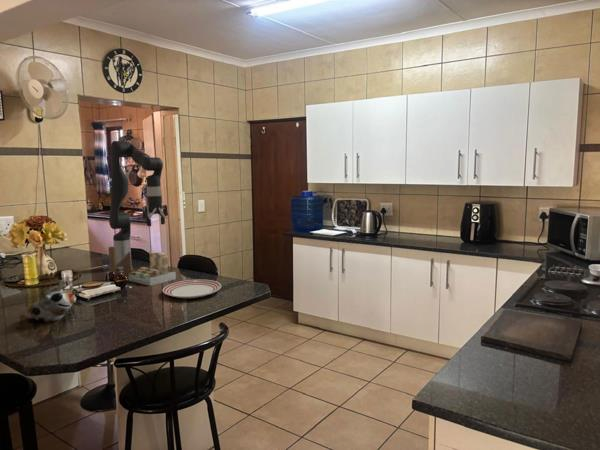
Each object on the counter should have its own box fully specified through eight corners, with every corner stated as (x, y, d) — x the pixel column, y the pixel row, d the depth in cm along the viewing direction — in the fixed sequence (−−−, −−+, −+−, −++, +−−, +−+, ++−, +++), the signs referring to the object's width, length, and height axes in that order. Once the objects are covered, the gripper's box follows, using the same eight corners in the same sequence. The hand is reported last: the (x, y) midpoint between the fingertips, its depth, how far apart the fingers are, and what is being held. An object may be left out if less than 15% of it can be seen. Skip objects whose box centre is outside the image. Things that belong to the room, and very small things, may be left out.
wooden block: (131, 278, 242) (130, 245, 239) (110, 281, 236) (108, 247, 234) (130, 276, 245) (128, 244, 242) (109, 279, 239) (107, 246, 237)
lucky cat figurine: (58, 310, 188) (72, 282, 187) (71, 326, 182) (85, 297, 181) (22, 309, 176) (36, 279, 174) (34, 327, 169) (50, 296, 168)
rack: (128, 280, 237) (128, 273, 236) (154, 274, 250) (154, 267, 250) (150, 285, 226) (149, 278, 226) (175, 279, 240) (175, 271, 239)
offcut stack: (132, 280, 236) (132, 269, 235) (143, 278, 242) (143, 266, 241) (149, 284, 228) (148, 272, 227) (160, 281, 234) (159, 270, 233)
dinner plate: (207, 303, 197) (207, 296, 197) (151, 300, 203) (151, 293, 202) (229, 287, 224) (229, 280, 224) (179, 284, 229) (179, 278, 229)
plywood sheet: (150, 277, 244) (149, 252, 242) (154, 276, 246) (153, 251, 244) (164, 280, 237) (163, 254, 236) (168, 279, 239) (167, 253, 238)
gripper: (161, 194, 244) (162, 223, 246) (138, 195, 233) (140, 226, 235) (169, 194, 240) (171, 224, 242) (147, 196, 228) (149, 227, 230)
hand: (156, 225), depth 238 cm, fingers open, 8 cm apart
